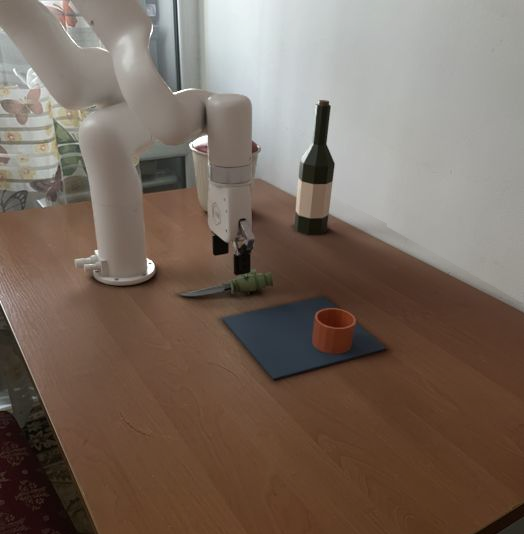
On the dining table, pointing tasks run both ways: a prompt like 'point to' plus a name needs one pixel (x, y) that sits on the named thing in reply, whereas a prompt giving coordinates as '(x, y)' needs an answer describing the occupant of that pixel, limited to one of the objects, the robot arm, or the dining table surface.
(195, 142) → the canister
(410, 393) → the dining table surface
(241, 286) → the knife
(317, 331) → the ramekin
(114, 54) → the robot arm
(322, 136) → the wine bottle
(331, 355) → the mat
